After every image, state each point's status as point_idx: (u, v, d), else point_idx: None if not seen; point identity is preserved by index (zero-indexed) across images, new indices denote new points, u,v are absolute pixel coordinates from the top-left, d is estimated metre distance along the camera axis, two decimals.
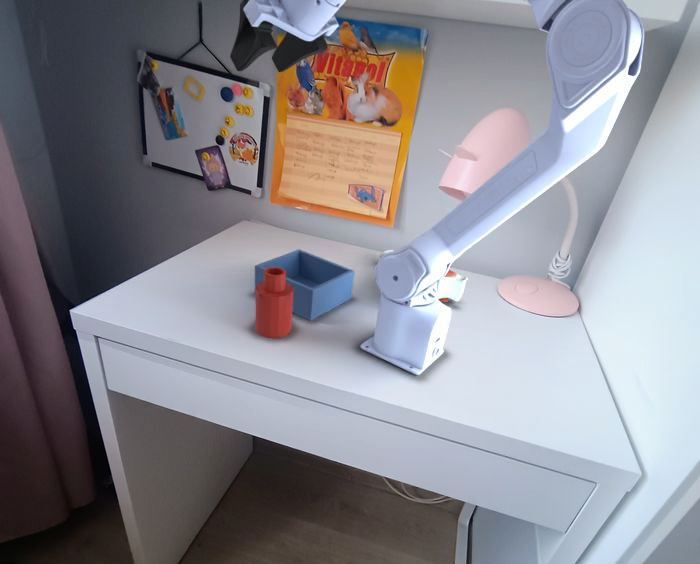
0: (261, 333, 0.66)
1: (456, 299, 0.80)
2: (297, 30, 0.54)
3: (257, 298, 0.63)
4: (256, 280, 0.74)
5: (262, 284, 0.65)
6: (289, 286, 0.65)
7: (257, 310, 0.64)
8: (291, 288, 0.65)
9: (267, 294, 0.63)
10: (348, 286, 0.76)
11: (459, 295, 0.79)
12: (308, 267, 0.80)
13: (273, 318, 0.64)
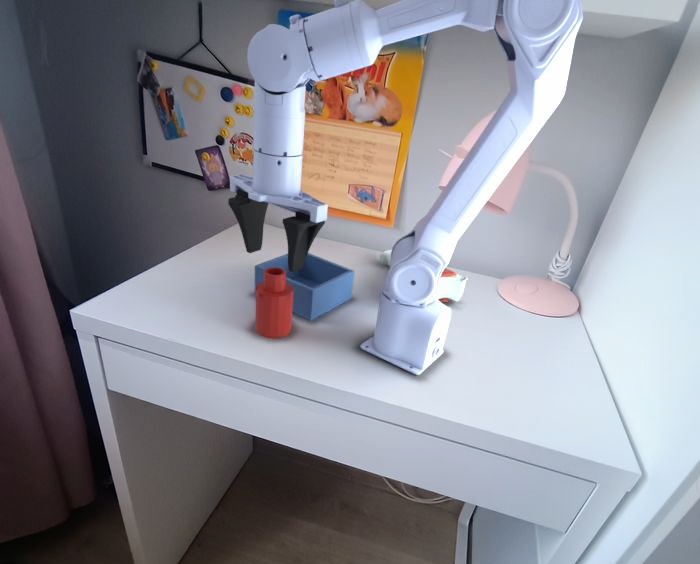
0: (261, 333, 0.66)
1: (456, 299, 0.80)
2: (303, 191, 0.58)
3: (257, 298, 0.63)
4: (256, 280, 0.74)
5: (262, 284, 0.65)
6: (289, 286, 0.65)
7: (257, 310, 0.64)
8: (291, 288, 0.65)
9: (267, 294, 0.63)
10: (348, 286, 0.76)
11: (459, 295, 0.79)
12: (308, 267, 0.80)
13: (273, 318, 0.64)
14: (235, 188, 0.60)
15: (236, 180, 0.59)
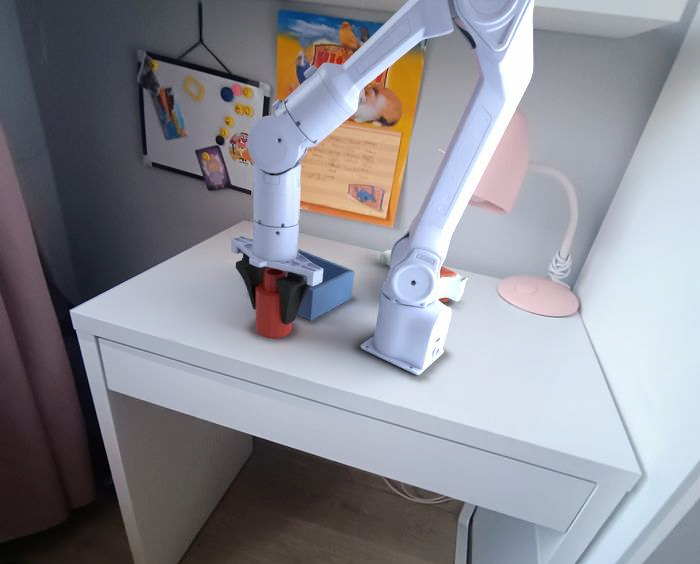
0: (261, 333, 0.66)
1: (456, 299, 0.80)
2: (300, 254, 0.62)
3: (257, 298, 0.63)
4: None
5: (262, 284, 0.65)
6: None
7: (257, 310, 0.64)
8: None
9: (267, 294, 0.63)
10: (348, 286, 0.76)
11: (459, 295, 0.79)
12: None
13: (273, 318, 0.64)
14: (236, 249, 0.64)
15: (237, 243, 0.63)
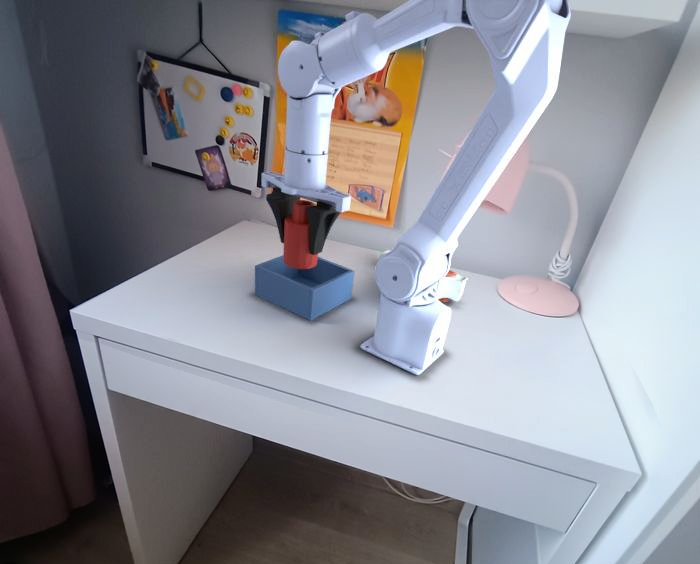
0: (289, 264, 0.69)
1: (456, 299, 0.80)
2: (327, 185, 0.66)
3: (287, 229, 0.67)
4: (256, 280, 0.74)
5: (291, 217, 0.68)
6: None
7: (286, 241, 0.68)
8: None
9: (296, 224, 0.66)
10: (348, 286, 0.76)
11: (459, 295, 0.79)
12: None
13: (302, 248, 0.68)
14: (266, 184, 0.68)
15: (267, 176, 0.67)
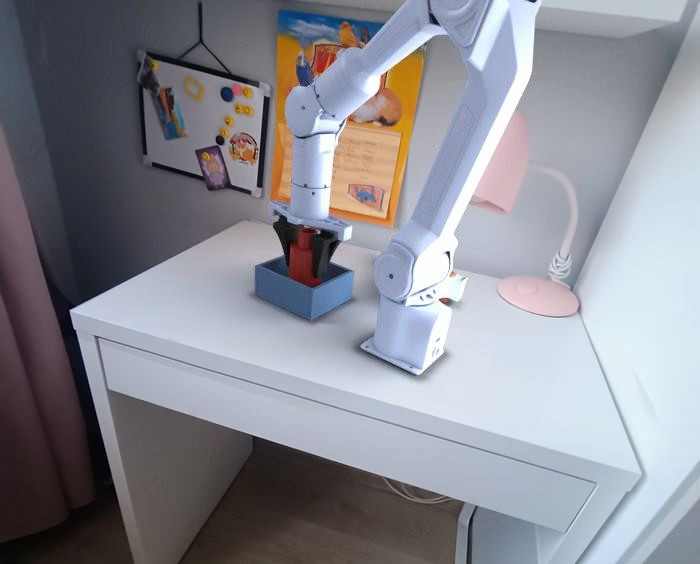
0: None
1: (456, 299, 0.80)
2: (330, 214, 0.70)
3: (292, 254, 0.72)
4: (256, 280, 0.74)
5: (296, 243, 0.73)
6: None
7: (291, 266, 0.73)
8: None
9: (301, 250, 0.71)
10: (348, 286, 0.76)
11: (459, 295, 0.79)
12: None
13: (306, 272, 0.72)
14: (273, 212, 0.72)
15: (274, 205, 0.71)
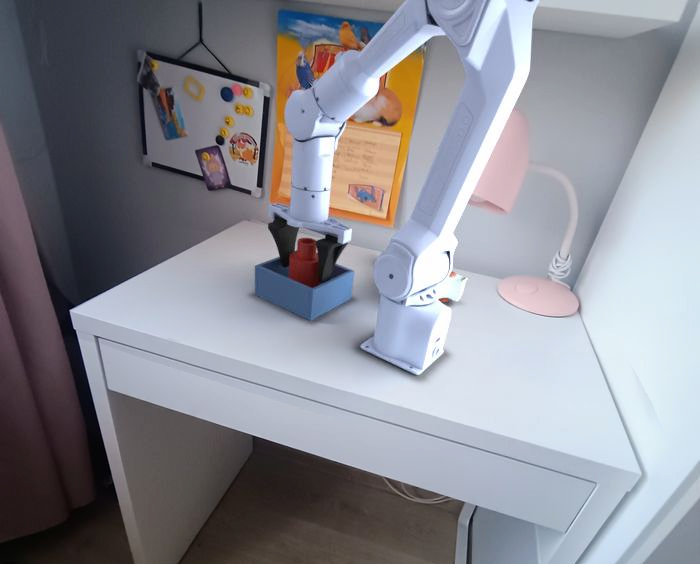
0: None
1: (456, 299, 0.80)
2: (330, 217, 0.71)
3: (291, 265, 0.73)
4: (256, 280, 0.74)
5: (295, 253, 0.74)
6: None
7: (291, 276, 0.74)
8: None
9: (300, 260, 0.72)
10: (348, 286, 0.76)
11: (459, 295, 0.79)
12: None
13: (305, 282, 0.73)
14: (273, 214, 0.73)
15: (274, 208, 0.72)
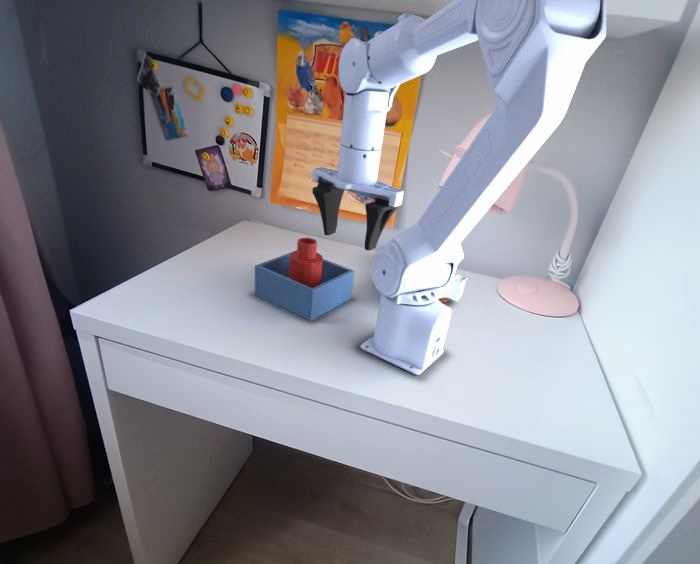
0: None
1: (456, 299, 0.80)
2: (378, 181, 0.68)
3: (291, 265, 0.73)
4: (256, 280, 0.74)
5: (295, 253, 0.74)
6: (319, 255, 0.74)
7: (291, 276, 0.74)
8: (321, 256, 0.74)
9: (300, 260, 0.72)
10: (348, 286, 0.76)
11: (459, 295, 0.79)
12: None
13: (305, 282, 0.73)
14: (317, 179, 0.70)
15: (319, 172, 0.69)
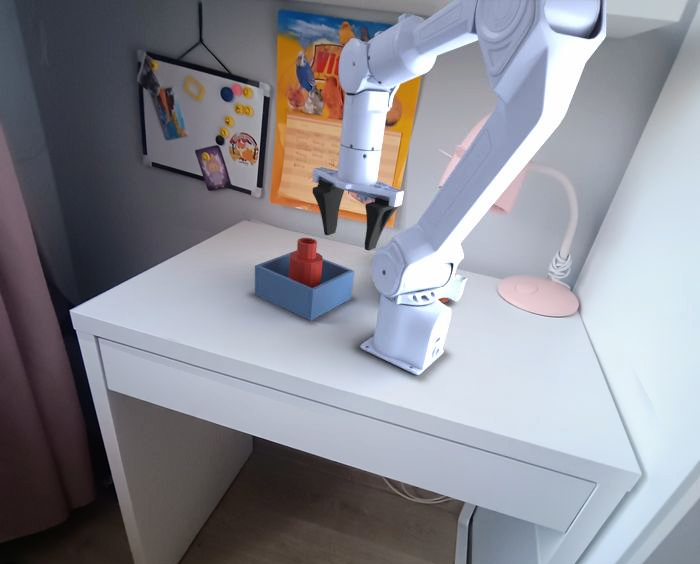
0: None
1: (456, 299, 0.80)
2: (378, 181, 0.68)
3: (291, 265, 0.73)
4: (256, 280, 0.74)
5: (295, 253, 0.74)
6: (319, 255, 0.74)
7: (291, 276, 0.74)
8: (321, 256, 0.74)
9: (300, 260, 0.72)
10: (348, 286, 0.76)
11: (459, 295, 0.79)
12: None
13: (305, 282, 0.73)
14: (317, 179, 0.70)
15: (319, 172, 0.69)
